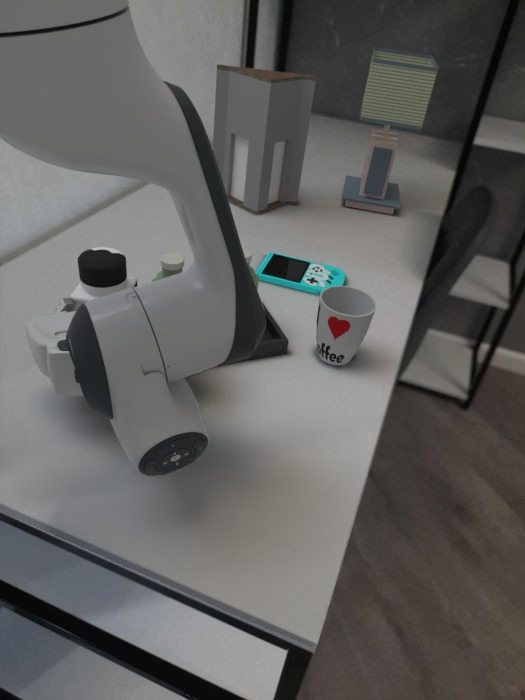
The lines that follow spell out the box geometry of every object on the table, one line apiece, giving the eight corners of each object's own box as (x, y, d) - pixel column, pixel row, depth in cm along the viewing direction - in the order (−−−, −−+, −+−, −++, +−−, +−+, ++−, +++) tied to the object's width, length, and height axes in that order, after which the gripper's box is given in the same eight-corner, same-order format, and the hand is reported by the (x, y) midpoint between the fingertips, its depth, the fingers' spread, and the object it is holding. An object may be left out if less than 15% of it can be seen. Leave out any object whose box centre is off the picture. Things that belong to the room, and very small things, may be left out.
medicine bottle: (126, 347, 71) (120, 270, 64) (74, 341, 71) (63, 263, 64) (139, 319, 77) (136, 245, 70) (92, 312, 77) (83, 238, 70)
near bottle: (156, 350, 76) (155, 271, 68) (148, 326, 80) (145, 249, 72) (196, 344, 78) (199, 266, 70) (186, 321, 82) (188, 246, 74)
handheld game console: (337, 300, 93) (339, 293, 92) (253, 279, 96) (253, 272, 95) (346, 275, 101) (348, 269, 100) (268, 256, 104) (269, 250, 103)
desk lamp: (397, 218, 126) (440, 68, 106) (340, 208, 127) (371, 58, 108) (395, 192, 141) (433, 56, 121) (344, 183, 142) (372, 46, 122)
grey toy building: (296, 202, 128) (315, 75, 111) (299, 218, 120) (320, 85, 103) (210, 194, 126) (217, 64, 109) (208, 210, 118) (215, 73, 101)
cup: (297, 348, 80) (308, 293, 74) (335, 333, 85) (348, 280, 79) (333, 378, 76) (348, 322, 70) (371, 361, 80) (388, 306, 74)
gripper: (215, 320, 62) (176, 265, 72) (32, 354, 54) (15, 287, 63) (212, 361, 66) (176, 304, 75) (41, 399, 58) (24, 329, 67)
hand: (102, 296), depth 69 cm, fingers closed on medicine bottle, 8 cm apart
